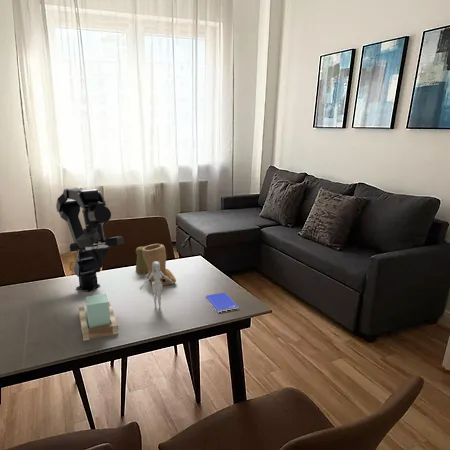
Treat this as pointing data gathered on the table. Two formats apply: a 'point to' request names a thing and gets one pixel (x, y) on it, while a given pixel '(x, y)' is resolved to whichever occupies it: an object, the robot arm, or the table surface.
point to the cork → (141, 262)
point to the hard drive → (221, 302)
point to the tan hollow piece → (158, 254)
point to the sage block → (97, 310)
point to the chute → (99, 330)
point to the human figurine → (156, 283)
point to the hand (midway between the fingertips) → (100, 267)
